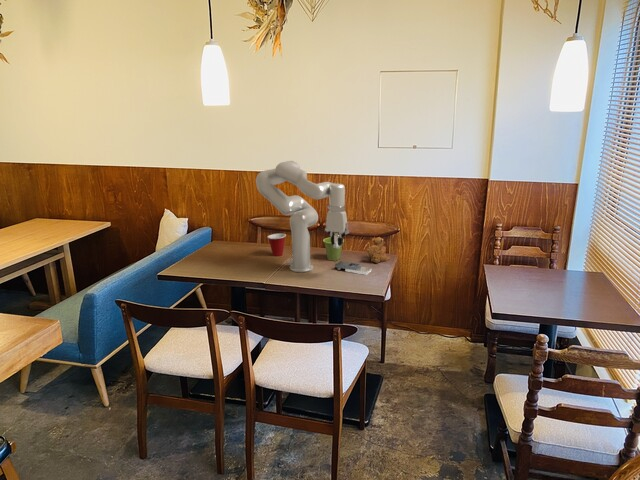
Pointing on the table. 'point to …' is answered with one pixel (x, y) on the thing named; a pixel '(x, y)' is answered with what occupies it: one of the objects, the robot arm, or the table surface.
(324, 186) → the robot arm
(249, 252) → the table surface
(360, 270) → the gray white flat block
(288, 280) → the table surface
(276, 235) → the plastic cup
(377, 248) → the teddy bear
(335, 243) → the steel pin
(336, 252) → the plant pot
